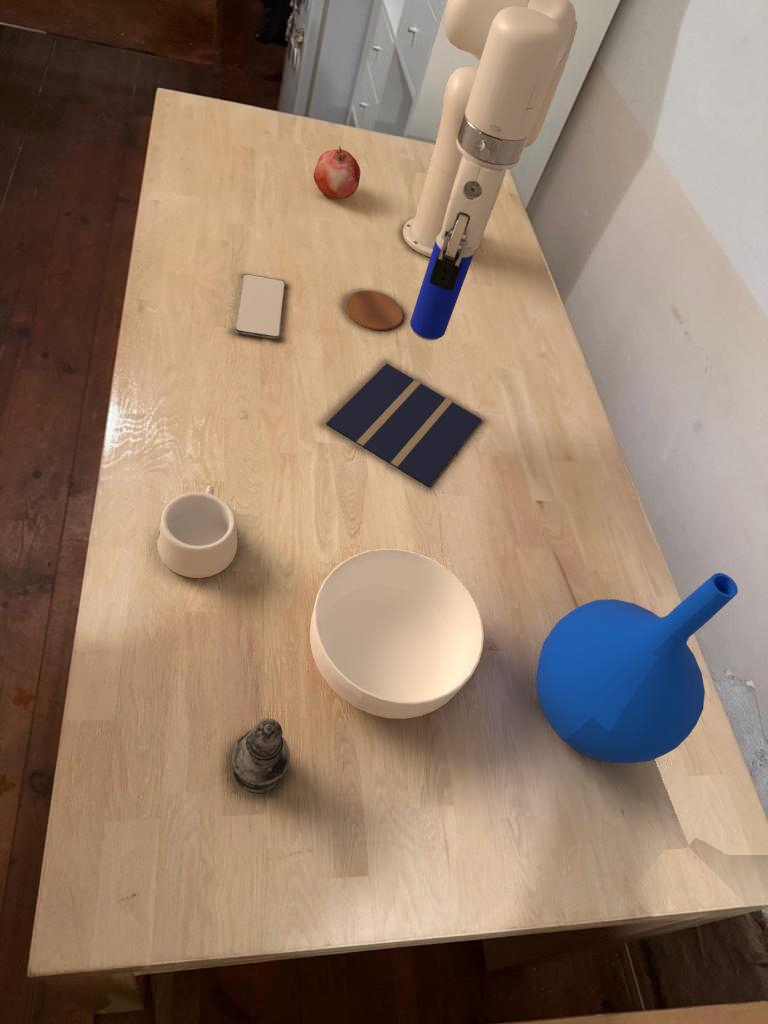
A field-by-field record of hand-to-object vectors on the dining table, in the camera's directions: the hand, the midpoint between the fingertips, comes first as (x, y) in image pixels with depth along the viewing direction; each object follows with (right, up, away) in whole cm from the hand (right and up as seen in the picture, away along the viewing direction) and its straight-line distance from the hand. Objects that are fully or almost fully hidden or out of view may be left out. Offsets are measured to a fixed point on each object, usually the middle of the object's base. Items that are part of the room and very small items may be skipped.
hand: (446, 272), depth 97 cm
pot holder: (-5, -18, +17) cm, 25 cm away
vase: (+17, -56, -6) cm, 59 cm away
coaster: (-10, +3, +32) cm, 33 cm away
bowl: (-8, -49, -7) cm, 50 cm away
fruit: (-18, +32, +51) cm, 63 cm away
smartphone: (-29, +2, +25) cm, 38 cm away
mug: (-31, -35, -4) cm, 47 cm away
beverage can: (-2, -6, +8) cm, 10 cm away
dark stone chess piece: (-22, -59, -19) cm, 65 cm away
